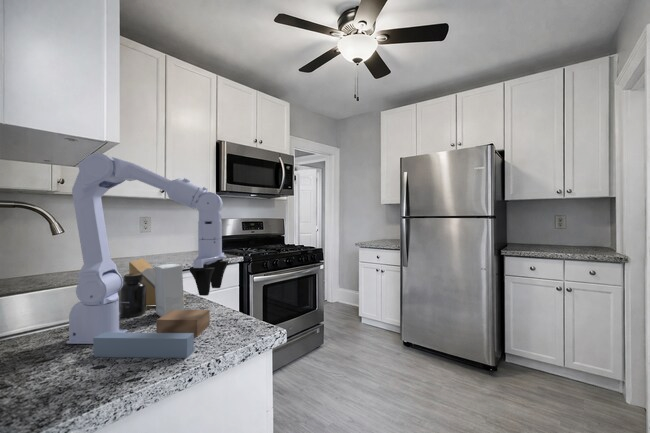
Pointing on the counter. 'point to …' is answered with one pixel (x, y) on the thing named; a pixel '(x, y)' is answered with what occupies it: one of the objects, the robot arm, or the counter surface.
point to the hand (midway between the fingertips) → (210, 291)
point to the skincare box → (168, 288)
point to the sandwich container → (145, 278)
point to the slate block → (144, 345)
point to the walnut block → (184, 322)
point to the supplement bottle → (133, 296)
